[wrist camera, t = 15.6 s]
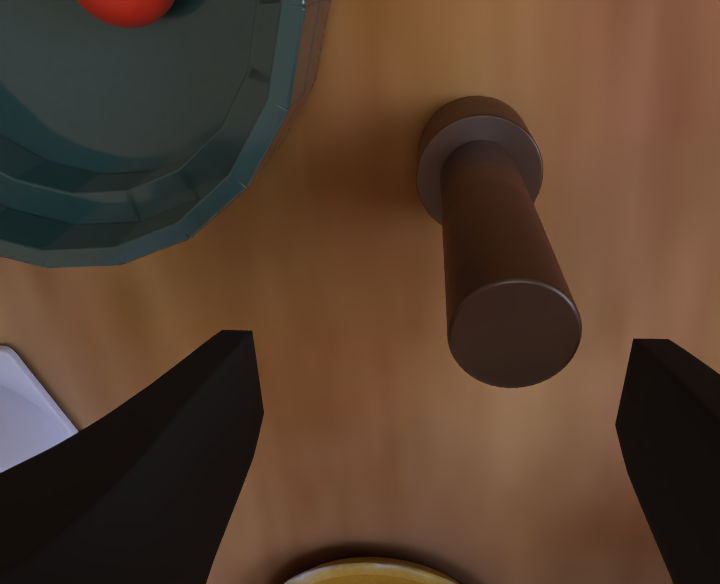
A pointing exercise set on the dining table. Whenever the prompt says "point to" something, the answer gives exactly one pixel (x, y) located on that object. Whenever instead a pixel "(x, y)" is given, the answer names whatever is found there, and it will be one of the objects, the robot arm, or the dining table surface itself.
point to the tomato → (127, 11)
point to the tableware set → (371, 572)
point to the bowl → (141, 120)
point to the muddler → (495, 245)
